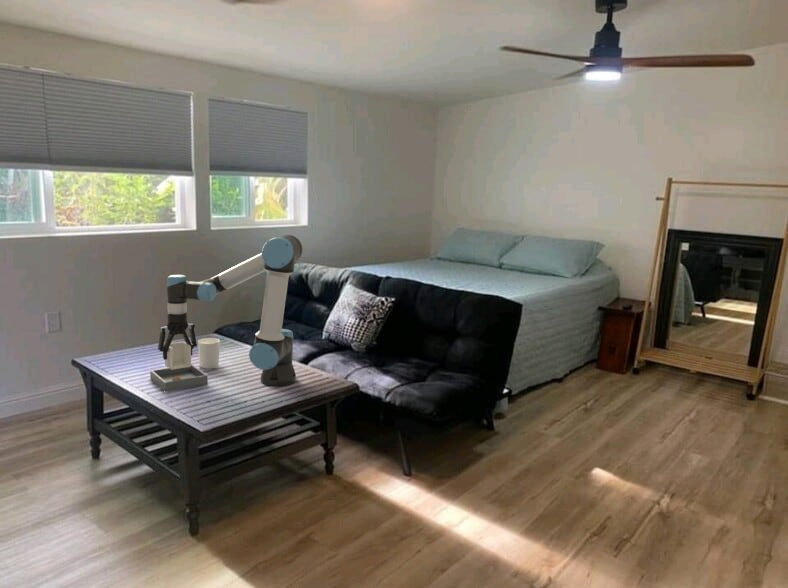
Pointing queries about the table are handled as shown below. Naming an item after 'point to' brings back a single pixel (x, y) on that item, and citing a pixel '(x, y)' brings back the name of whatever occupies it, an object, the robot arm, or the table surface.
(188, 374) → the tray
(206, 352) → the candle holder
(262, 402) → the table surface
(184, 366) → the cream open-top bin
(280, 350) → the robot arm
